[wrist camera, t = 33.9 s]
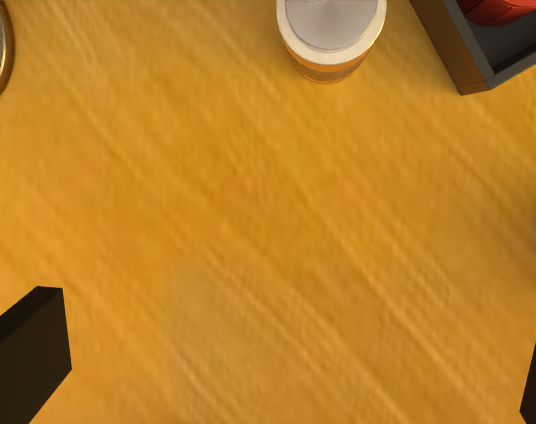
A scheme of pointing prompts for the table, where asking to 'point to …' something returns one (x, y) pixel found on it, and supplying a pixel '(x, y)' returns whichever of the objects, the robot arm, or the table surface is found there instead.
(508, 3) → the cap
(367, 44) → the spray can
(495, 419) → the table surface
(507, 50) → the bin
